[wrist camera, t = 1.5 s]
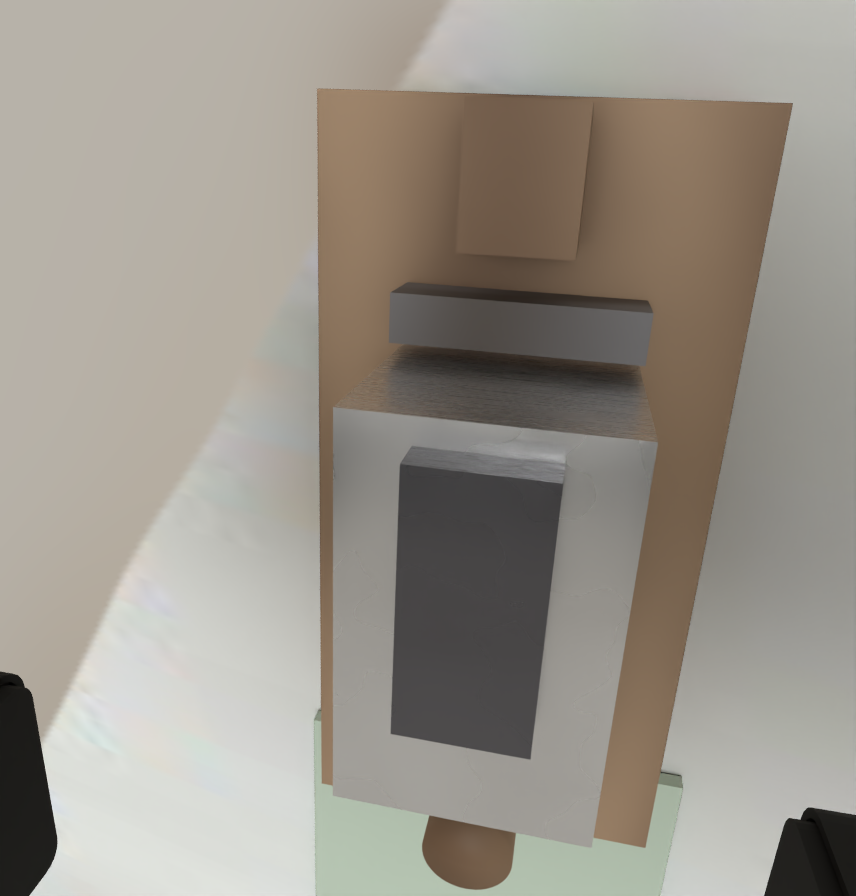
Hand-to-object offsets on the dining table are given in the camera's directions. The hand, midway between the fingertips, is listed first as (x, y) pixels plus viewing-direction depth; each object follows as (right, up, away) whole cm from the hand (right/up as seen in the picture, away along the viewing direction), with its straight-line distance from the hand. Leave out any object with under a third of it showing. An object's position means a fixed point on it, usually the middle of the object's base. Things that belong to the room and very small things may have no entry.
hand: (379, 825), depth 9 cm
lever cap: (+2, +3, +8) cm, 9 cm away
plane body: (+3, +4, +12) cm, 13 cm away
